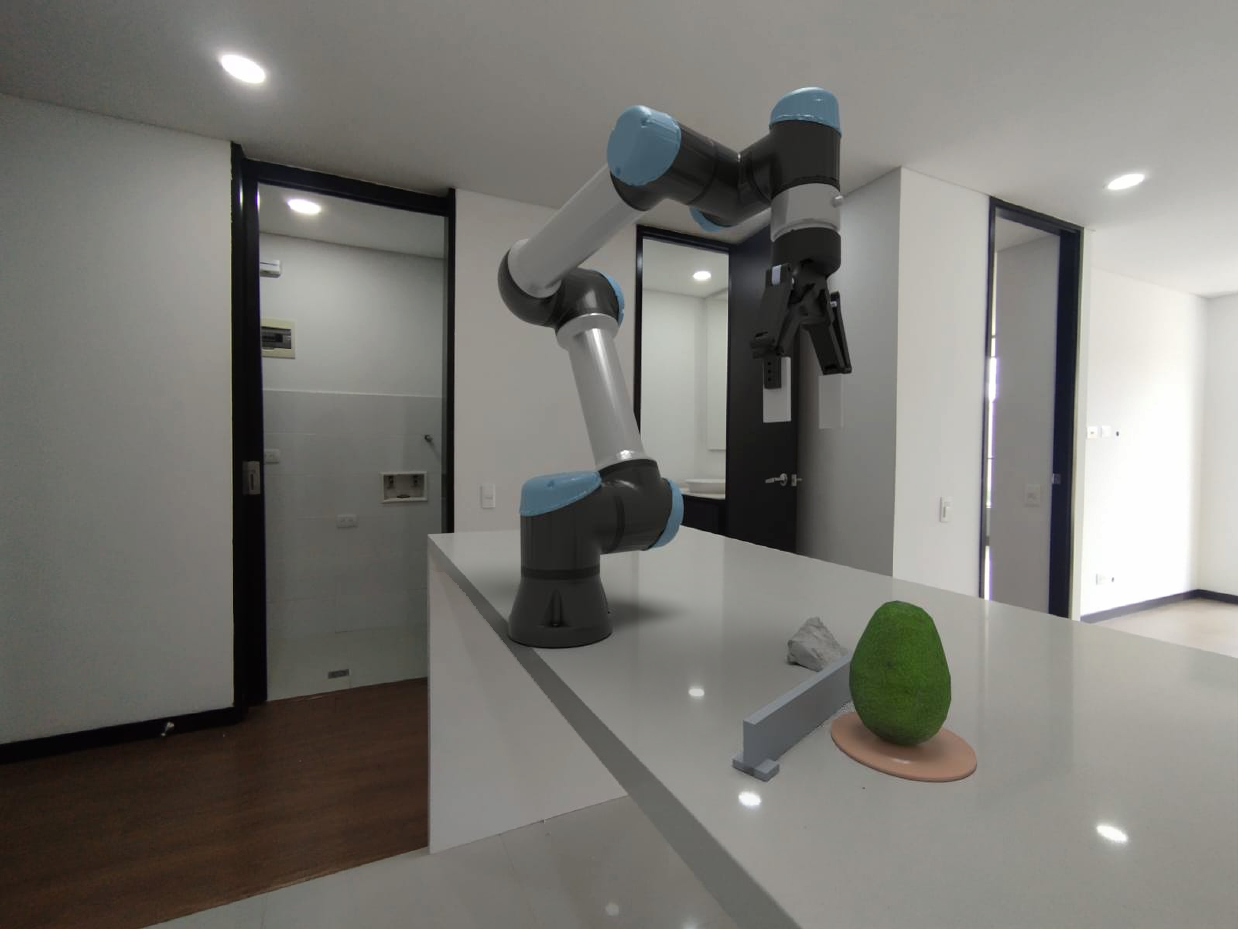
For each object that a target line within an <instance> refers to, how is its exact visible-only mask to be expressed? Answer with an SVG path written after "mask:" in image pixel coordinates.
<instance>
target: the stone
mask: <svg viewBox="0 0 1238 929" xmlns="http://www.w3.org/2000/svg"><path fill="white" fill-rule="evenodd" d="M787 647H788V650H787V653H786V654H787V655H786V658H787V660H789V661H791V662H794V663H797V664H798V665H801V666H804V667H806V668H808V669H810V670H811V671H816V672H817V673H818V672H820V671H821V670H823V669H825V668H826V667H828V666H829V665H831V664H832V663H834V662H836V661H837V660H839V659H840V658H842V657H843V656H845V655H847V654H848V653H849V652H848V650H847V649H846V648H843V647H842V646H840V644H839V643H838V641H837V640H836V639H835V637H834V636H833V633H832V632H830V630H829V629H828V627H827V625H825V624H824V622H822V621H821V619H820V618H819V616H815V617H810V618H808V619H806V621H805V622H804V624H803V625H802V626H800V627H799V630H798V631H797V632H796V633H795V634H793V636H792V637H791V638H789V639H788V641H787Z"/></svg>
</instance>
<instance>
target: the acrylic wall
mask: <svg viewBox="0 0 1238 929" xmlns="http://www.w3.org/2000/svg"><path fill="white" fill-rule="evenodd" d="M854 652H855V651H850V652H848V654H847V655H845V656H843V657H842V658H840V659H839V660H837V661H836V662H834V663H832V664H831V665H829V666H828V667H826V668H825V669H823V670H821V671H820V672H818V671H817V673H816V674H814V675H812V676H810V677H809V678H807V679H806V680H804V681H802V682H801V683H800V684H798V685H796V686H795V687H793V688H792V689H790V690H788V691H787V692H785V693H784V694H782V695H781V696H779V697H777V698H776V699H774V700H773V701H771V702H770V703H768V704H767V705H765V706H763V707H762V708H760V709H759V710H756V712H754V713H753V714H751V715H749V716H748V717H746V718H745V719H743V720H742V732H743V733H742V735H743V736H742V738H743V739H742V743H743V744H742V748H743V750H742V751H741V752H740V753H738V754H737V755H736V756H734V757H733V758H732V763H731V764H732V767H733V768H735V769H738V770H740V771H742V772H745V773H746V774H748V775H751V776H753V777H755V778H758V779H760V780H762V781H764V782H768V781H769V780H770V779H771V778H773V777H774V776H775V775H776V774H777V773H779V772H780V762H777V761H776V760H777V759H778V758H779V757H781V756H782V755H783V754H784V753H786V752H787V751H788V750H790V749H791V748H792V747H794V746H795V745H796V744H797V743H798V742H799V741H801V740H802V739H803V738H805V737H806V736H807V735H808V734H809V733H811V732H812V731H814V730H815V729H816V728H817V727H818V726H820V724H823V722H825V721H826V720H827V719H828V718H829V717H831V716H832V715H833V714H835V713H836V712H837V711H838V710H840V709H841V708H842V707H843V706H845V705H846V704H847V703H848V702H850V701H851V700H852V696H851V692H850V688H849V671H850V662H851V660H852V657H853V654H854Z"/></svg>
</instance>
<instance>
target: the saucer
mask: <svg viewBox="0 0 1238 929" xmlns="http://www.w3.org/2000/svg"><path fill="white" fill-rule="evenodd" d="M830 730H831V731H830V732H831V738H832V740H833V742H834V743H835V745H836V746H837V747H838V749H840V750H841V751H842V752H843V753H844V754H846V755H847V756H849V757H850V758H852V759H853V760H855V761H856V762H858V763H859V764H860V763H861V764H862V765H865V766H866V767H868V768H871V769H873V770H876V771H879V772H882V773H884V774H888V775H890V776H891V775H892V776H894V777H895V776H896V777H899V778H904V779H907V780H915V781H919V782H920V781H923V782H937V783H938V782H952V781H958V780H961V779H964V778H966V777H968V776H970V775H971V774H973V772H974V771H975V769H976V768H977V767H976V766H977V755H976V752H975V750H974V749H973V747H972V746H971V745H970V744H969V743H968V742H967V741H966V740H964V738H962V737H961V736H960V735H958V734H956V733H955V732H953V731H951V730H949V729H948V728H945V727H944V726H941V728H940V730H939V731H938V733H937V734H935V735H934V736H933V737H932V738H931V739H929V740H928V741H926V742H923V743H920V744H917V745H900V744H896V743H892V742H889V741H886V740H884V739H882V738H880V737H878V736H876V735H875V734H873V733H872V732H871V731H870V730H869V729H868V728H867V727H866V726H865V725H864V724H863V723H862V721H861V719H860V717H859V715H858V713H857V712H856V711H851V712H848V713H845V714H842V715H840V716H838V717H837V718H835V720H833V721H832V724H831V729H830Z"/></svg>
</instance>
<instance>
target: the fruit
mask: <svg viewBox="0 0 1238 929" xmlns="http://www.w3.org/2000/svg"><path fill="white" fill-rule="evenodd" d="M853 652H854V654H853V657H852V660H851V662H850V671H849V688H850V692H851V696H852V699H851V700H852V704H853V707H854V710H855V712H857V713H858V715H859V717H860V719H861V721H862V723H863V724H864V725H865V726H866V727H867V728H868V729H869V730H870V731H871V732H872V733H873V734H875V735H876V736H878V737H880V738H882V739H884V740H886V741H889V742H892V743H896V744H900V745H917V744H920V743H923V742H926V741H928V740H929V739H931V738H932V737H933V736H934V735H935V734H937V733H938V731H939V730H940V728H941V727H943V725H944V723H945V722H946V720H947V717H948V713H949V710H950V707H951V706H950V705H951V703H952V676H951V673H950V670H949V665H948V659H947V658H946V654H945V650H944V646H943V643H942V639H941V636H940V634H939V631H938V629H937V626H936V624H935V622H934V619H933V617H932V616H931V615H929V613H928V612H927V611H925V609H924V608H922V607H921V606H918V605H915V604H912V603H910V602H908V601H907V602H906V601H901V600H896V599H895V600H891V601H886V602H884V603H883V604H882V605H880V607H878V608H876V610H875V611H874V613H873V614H872V616H871V617H870V619H869V621H868V623H867V625H866V627H865V629H864V630H863V632H862V633H861V636H860V638H859V639H858V642H857V644H856V647H855V649H854V651H853Z"/></svg>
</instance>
